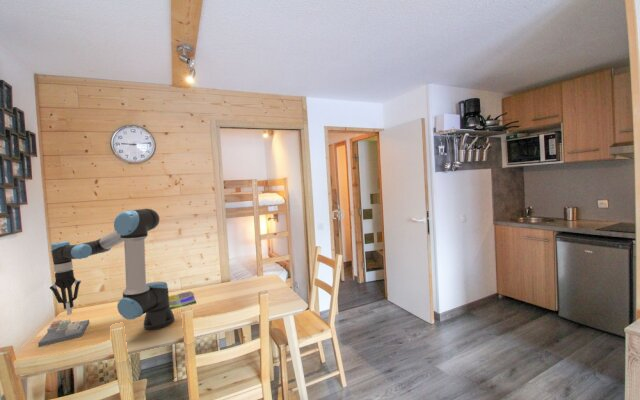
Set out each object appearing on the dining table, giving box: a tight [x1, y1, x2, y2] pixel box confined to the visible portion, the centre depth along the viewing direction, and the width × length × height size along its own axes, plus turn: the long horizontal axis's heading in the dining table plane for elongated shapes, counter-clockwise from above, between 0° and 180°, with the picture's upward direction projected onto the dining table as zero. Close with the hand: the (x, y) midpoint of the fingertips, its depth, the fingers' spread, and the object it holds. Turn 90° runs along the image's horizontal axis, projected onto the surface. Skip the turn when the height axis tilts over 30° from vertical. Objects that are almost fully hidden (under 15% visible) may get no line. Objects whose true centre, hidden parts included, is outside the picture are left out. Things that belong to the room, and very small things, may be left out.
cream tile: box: [68, 320, 80, 331], centre depth 158 cm, size 4×4×3 cm
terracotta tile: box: [50, 319, 63, 328], centre depth 164 cm, size 4×4×3 cm
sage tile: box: [59, 319, 72, 330], centre depth 161 cm, size 4×4×3 cm
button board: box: [37, 319, 90, 348], centre depth 161 cm, size 20×17×4 cm
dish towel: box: [169, 290, 197, 310], centre depth 198 cm, size 18×24×3 cm
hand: (69, 313), depth 159 cm, fingers closed
